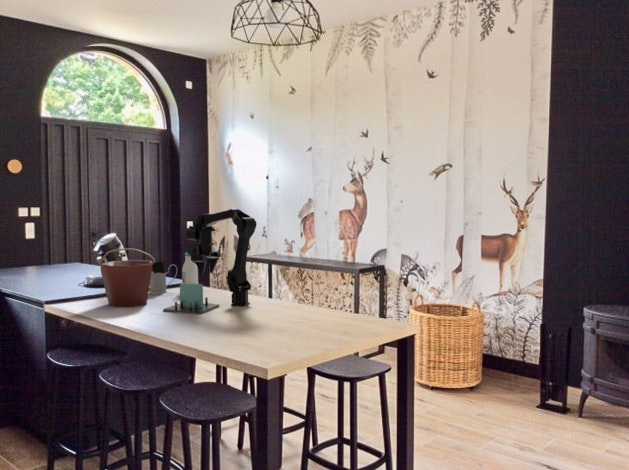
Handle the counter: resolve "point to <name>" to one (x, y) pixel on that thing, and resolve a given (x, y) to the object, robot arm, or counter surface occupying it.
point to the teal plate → (191, 294)
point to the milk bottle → (189, 271)
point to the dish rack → (191, 309)
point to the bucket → (126, 280)
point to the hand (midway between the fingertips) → (206, 274)
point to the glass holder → (159, 278)
